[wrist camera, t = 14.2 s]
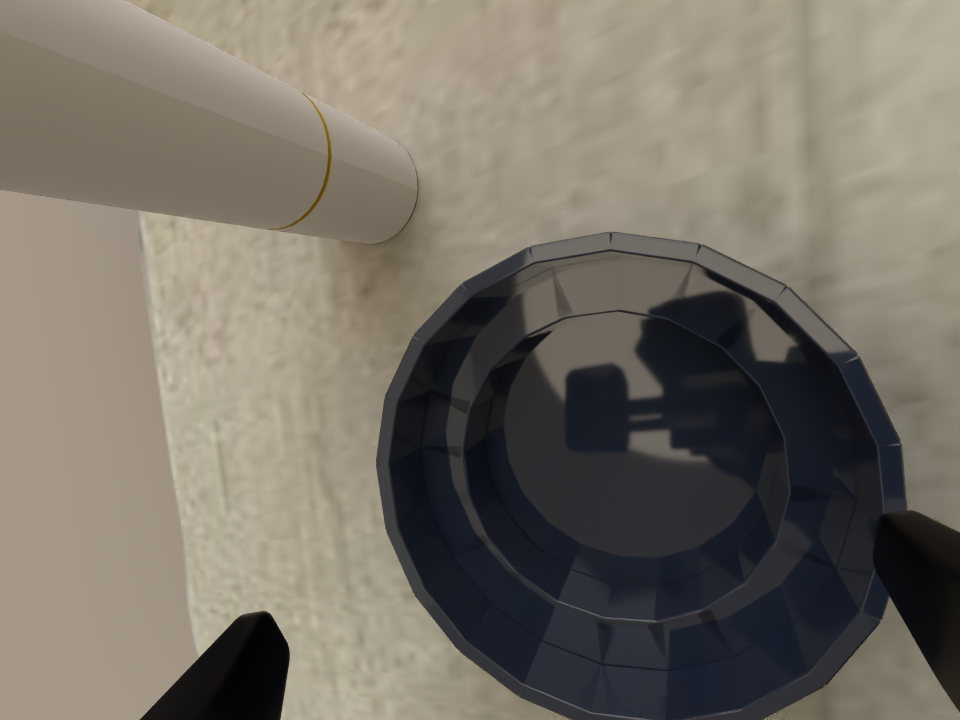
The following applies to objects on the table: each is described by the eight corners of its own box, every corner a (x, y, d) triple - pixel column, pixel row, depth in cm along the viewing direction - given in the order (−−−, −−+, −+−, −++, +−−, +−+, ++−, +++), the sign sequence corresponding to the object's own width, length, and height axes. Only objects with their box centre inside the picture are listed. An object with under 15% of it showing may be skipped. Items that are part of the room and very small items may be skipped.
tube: (419, 131, 21) (-100, -180, 7) (415, 245, 22) (-71, 163, 8) (325, 135, 23) (-261, -117, 9) (323, 242, 23) (-226, 169, 9)
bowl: (928, 576, 17) (1020, 684, 12) (531, 667, 22) (489, 768, 17) (731, 170, 18) (748, 126, 13) (388, 349, 23) (311, 364, 18)
